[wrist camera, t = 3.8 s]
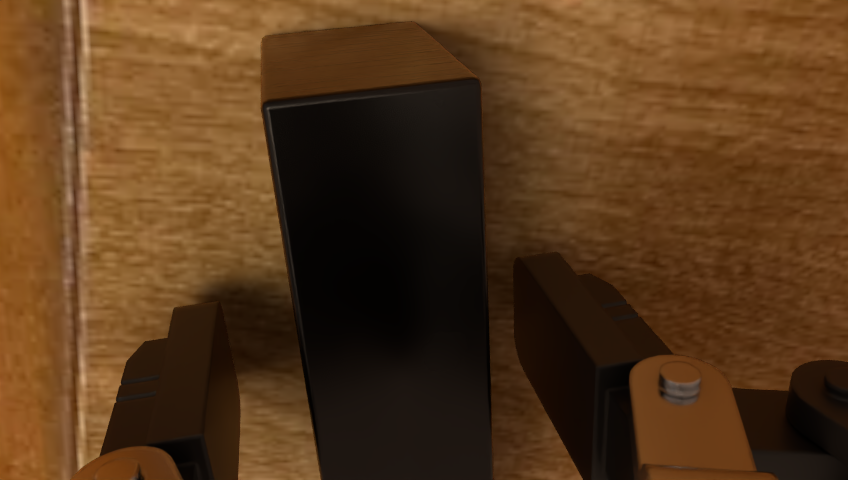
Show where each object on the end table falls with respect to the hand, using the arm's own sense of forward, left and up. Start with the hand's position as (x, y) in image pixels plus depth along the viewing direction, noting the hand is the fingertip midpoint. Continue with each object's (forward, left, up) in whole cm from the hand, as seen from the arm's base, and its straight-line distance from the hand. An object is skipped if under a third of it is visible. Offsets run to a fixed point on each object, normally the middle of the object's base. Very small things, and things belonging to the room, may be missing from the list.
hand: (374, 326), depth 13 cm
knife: (+5, 0, -1) cm, 5 cm away
